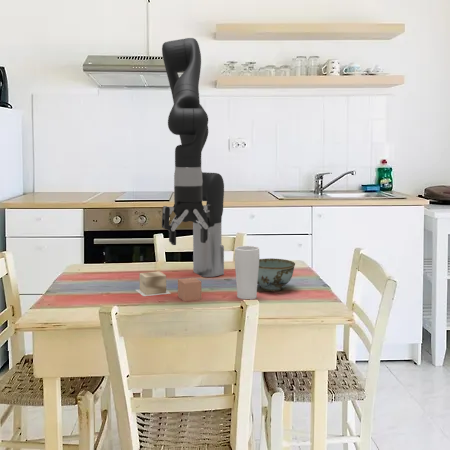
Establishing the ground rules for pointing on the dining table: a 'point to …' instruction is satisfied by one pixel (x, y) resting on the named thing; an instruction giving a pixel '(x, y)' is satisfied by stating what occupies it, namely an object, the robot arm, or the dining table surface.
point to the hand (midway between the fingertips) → (188, 243)
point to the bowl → (274, 273)
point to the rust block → (189, 289)
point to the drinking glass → (247, 271)
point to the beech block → (152, 283)
